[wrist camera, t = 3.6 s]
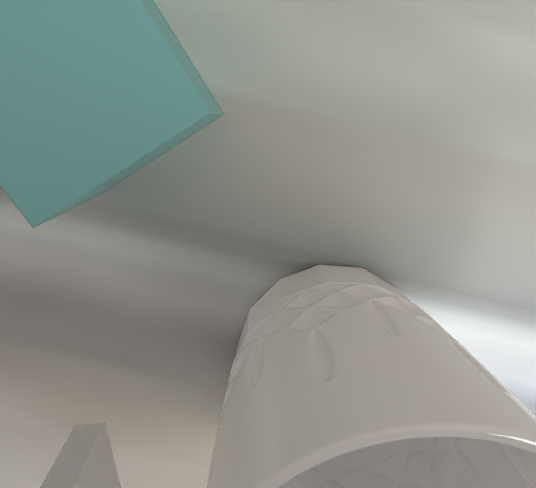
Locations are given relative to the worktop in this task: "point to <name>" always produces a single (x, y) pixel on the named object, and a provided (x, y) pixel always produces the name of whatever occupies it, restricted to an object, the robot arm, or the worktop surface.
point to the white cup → (363, 396)
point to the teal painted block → (89, 98)
